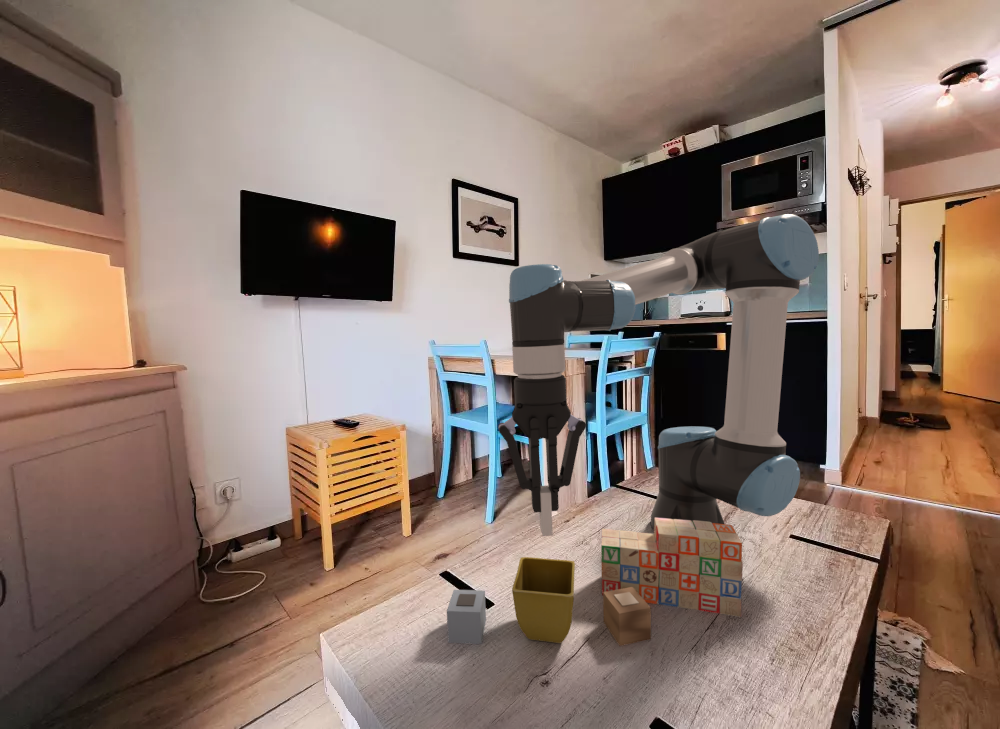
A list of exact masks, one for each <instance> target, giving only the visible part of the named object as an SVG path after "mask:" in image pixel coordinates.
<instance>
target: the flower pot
mask: <svg viewBox="0 0 1000 729" xmlns="http://www.w3.org/2000/svg"><path fill="white" fill-rule="evenodd" d="M575 569H576V563H575V561H574V560H567V559H555V558H542V557H529V556H524V557H523V556H522V557H520V558H519V562H518V566H517V570H516V571H517V572H516V575H515V578H514V581H513V585H512V588H511V593H512V598H513V605H514V611H515V618H516V621H517V625H518V627H519V629H520V630H521V631H522V633H523V635H524V636H525V637H526V638H527V639H528V640H530V641H531V640H532V641H537V642H538V641H539V642H547V643H554V644H555V643H556V644H561V643H563V642H565V640H566V638H567V637H568V635H569V633H570V630H571V626H572V620H573V610H574V609H573V608H574V600H575V599H574V598H575V597H574V596H575V572H576V571H575Z"/></svg>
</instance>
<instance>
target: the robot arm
mask: <svg viewBox="0 0 1000 729" xmlns="http://www.w3.org/2000/svg"><path fill="white" fill-rule="evenodd" d="M819 253H820V252H819V244H818V241H817V238H816V235H815V233H814V231H813V229H812V228H811V226H810V225H809V224H808V222H807V221H806V220H805V219H803V218H802V217H800V216H798V215H797V214H791V213H790V214H789V213H787V214H786V213H785V214H779V215H776V216H772V217H771V216H767V217H764V218H762V219H760V220H759V219H758V220H756V221H753V222H748V223H745V224H741V225H737V226H734V227H731V228H728V229H724V230H723V229H722V230H719V231H716V232H712V233H710V234H708V235H706V236H702V237H701V238H698V239H695V240H694V241H691V242H689V243H686V244H684V245H681V246H679V247H676V248H672V249H670V250H667V252H665V253H664V254H663V256H662V257H659V258H655V259H651V260H648V261H644V262H641V263H637V264H634V265H632V266H631V265H630V266H627V267H623V268H621V269H617V270H614V271H610V272H607V273H603V274H600V275H596V276H593V277H590V278H587V279H583V280H576V281H575V280H574V281H572V280H565V279H564V276H563V271H562V268H561V267H560V266H559V265H556V264H548V263H542V264H541V263H540V264H528V265H523V266H519V267H517V268H514V269H513V270H512V271H511V273H510V276H509V283H508V284H509V286H508V288H509V296H508V297H509V298H508V303H509V311H510V323H511V324H510V325H511V340H512V341H511V342H512V344H511V346H512V347H511V348H512V368H513V369H512V370H513V372H512V373H514V375H517V376H516V377H515V378H514V379H513V389H514V390H513V392H514V393H513V395H514V408H513V411H512V413H511V416H510V418H508V419H507V420H506V421H504V422H500V423H499V424H498V425H497V426H498V432H499V434H500V435H501V436H502V438H503V440H505V441H506V444H507V449H508V451H509V453H510V458H511V460H512V464H513V466H514V471H515V473H516V477H517V481H518V483H519V486H520V489H522V490H528V491H530V492H531V507H532V509H533V512H534V513H536V514H537V513H539V528H540V532H541V535H542V537H551V536H553V535H554V534H553V532H554V531H553V530H554V529H553V513H552V512H558V510H559V507H560V504H559V492H560V489H561V488H562V487H569V486H570V485H571V481H572V478H573V476H572V475H573V472H574V469H575V468H574V466H575V462H576V456H577V453H578V452H577V451H578V447H579V443H580V440H581V439H580V438H581V436H582V435H583V433H584V432H585V430H586V428H587V423H586V422H585V421H584V420H583V419H582V418H581V417H576V416H575V415H573V414H572V412H571V409H570V408H569V406H568V402H567V399H568V398H567V397H568V396H567V378H566V376H565V375H563V374H562V373H564V372H566V353H565V351H566V350H565V348H566V347H565V333H571V332H592V331H594V332H595V331H609V332H611V330H617V329H618V330H619V329H623V328H625V327H627V326H628V325H629V324H630V323H631V322H632V320H633V318H634V315H635V312H636V305H640V304H642V303H645V302H648V301H652V300H655V299H657V298H660V297H663V296H667V295H670V294H674V295H677V296H678V295H680V296H681V295H684V294H688V293H691V292H697V291H698V292H699V291H707V290H721V289H722V290H723V289H725V295H726V296H727V297H728V298H729V299H730V300H731V301H732V302H733V306H732V307H733V308H732V317H731V318H732V319H731V320H732V321H731V333H730V342H729V343H730V345H729V358H728V371H727V383H726V384H727V385H726V398H725V408H724V424H723V426H722V427H721V428H719V429H718V430H716V429H715V428H714V427H710V426H692V425H691V426H677V427H670V428H666V429H663V430H662V431H661V432H660V433H659V435H658V446H657V460H658V461H657V462H658V463H657V464H658V495H657V497H656V500H655V503H654V505H653V509H652V511H651V514H650V527H651V529H652V530H653V532H654V518H667V519H680V520H690V521H693V520H696V521H707V522H711V523H718V524H725V521H724V518H723V514H722V513H721V510H720V506H719V504H718V501H722V502H723V503H726V504H727V505H728V504H729V505H731V506H733V507H736V508H738V509H739V510H740V511H743V512H746V513H747V512H749V513H751V514H754V515H757V516H761V517H772V516H773V517H774V516H776V515H778V514H779V513H781V512H782V511H784V510H785V509H786V508H787V507H788V506H789V504H790V503H792V501H793V499H794V498H795V495H796V494H797V491H798V489H799V484H800V481H801V470H800V468H799V464H798V463H797V461H796V460H795V459H794V458H792V457H791V456H789V455H786V452H787V450H786V449H787V442H786V441H785V440H784V439H783V438H782V436H781V435H780V434H779V432H778V425H779V424H778V423H779V412H780V403H781V389H782V379H783V378H782V377H783V376H782V375H783V364H784V354H785V353H784V352H785V341H786V340H785V339H786V329H787V327H786V326H787V315H788V306H789V302H790V301H791V300H792V299H793V298H794V297H795V296H797V294H799V292H800V285H801V281H803V280H806V279H808V278H809V277H811V276H812V275H813V274H814V273H815V270H816V269H817V267H818V264H819V257H820V254H819ZM566 424H567V428H568V432H567V437H566V441H565V446H564V451H563V456H562V461H561V466H560V469H559V468H558V449H557V448H558V446H557V445H558V436H559V435H560V433H561V431H563V429H564V427H565V425H566ZM516 425H517V427H518V428H519V429H520V430H521V431H522V433H523V434H524V435H525V436H526V437H527V439H528V450H529V453H528V454H529V455H528V456H529V472H530V473H529V475H530V476H529V477H527V475H526V473H525V469H524V465H523V462H522V460H521V455H520V452H519V450H518V445H517V442H516V439H515V434H516V430H517V429H516V428H515V426H516ZM541 439H544V440H545V451H546V452H545V454H546V455H545V456H546V472H547V473H546V475H547V483H548V485H542V484H541V467H540V466H541V465H540V463H541V462H540V461H541V460H540V440H541ZM558 469H559V471H558ZM558 472H559V473H558ZM717 500H718V501H717Z"/></svg>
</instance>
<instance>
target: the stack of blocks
mask: <svg viewBox="0 0 1000 729" xmlns="http://www.w3.org/2000/svg"><path fill="white" fill-rule="evenodd" d="M600 548H601V549H600V550H601V554H600V556H601V558H600V562H601V596H603V592H607V591H612V590H618V589H624V588H629V587H633V588H634V589H635V590H636V591H637V593H638V594H639V595H640V596H641V597H642V598H643V599H644V600H645V602H646V603H647V604H653V605H654V604H655V605H662V606H669V607H674V608H675V607H676V608H681V609H689V610H695V611H696V610H697V611H701V612H708V613H714V614H721V615H727V616H733V617H742V585H743V583H742V582H743V570H744V568H743V564H744V562H743V560H742V559H743V558H742V556H743V542H742V540H741V538H740V537H739V535H738V533H737V531H736V529H735V528H734V526H733V525H732V524H726V523H724V524H718V523H711V522H707V521H696V520H693V521H690V520H680V519H667V518H654V531H653V533H650V532H638V531H631V530H630V531H629V530H618V529H611V528H609V529H608V528H602V529H601V547H600Z"/></svg>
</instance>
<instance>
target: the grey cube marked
mask: <svg viewBox="0 0 1000 729" xmlns="http://www.w3.org/2000/svg"><path fill="white" fill-rule="evenodd" d="M486 623H487V611H486V590H477V589H476V590H475V589H453V591H452V594H451V597H450V600H449V603H448V606H447V610H446V624H447V625H446V626H447V643H451V644H469V645H470V644H471V645H473V644H476V645H482V644H483V639H484V638H483V637H484V632H485V627H486Z"/></svg>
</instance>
